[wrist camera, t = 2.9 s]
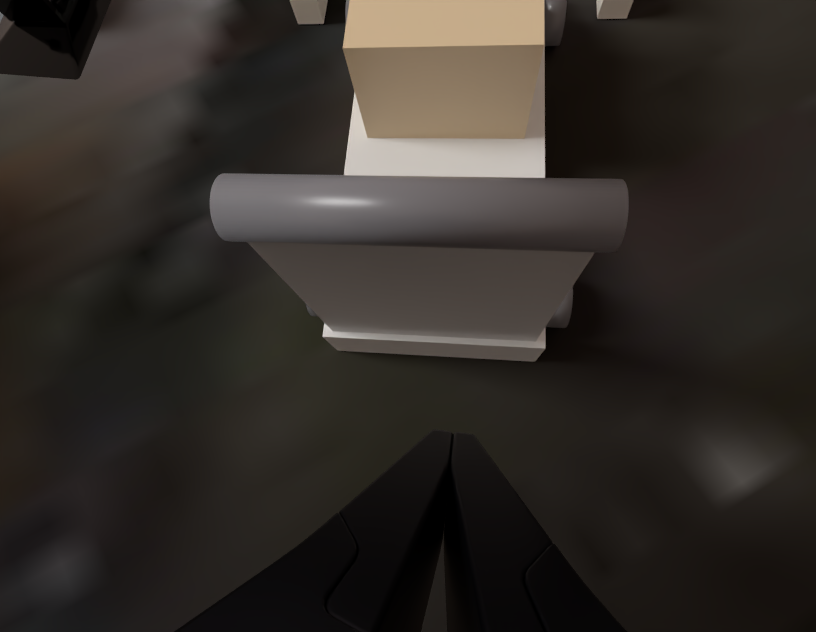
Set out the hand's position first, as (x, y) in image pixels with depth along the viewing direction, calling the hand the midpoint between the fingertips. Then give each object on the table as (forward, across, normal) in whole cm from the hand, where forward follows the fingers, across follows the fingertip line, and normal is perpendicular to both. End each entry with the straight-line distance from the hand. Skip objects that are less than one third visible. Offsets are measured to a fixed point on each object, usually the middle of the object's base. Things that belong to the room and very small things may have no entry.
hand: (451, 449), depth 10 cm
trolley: (+13, -1, +4) cm, 13 cm away
